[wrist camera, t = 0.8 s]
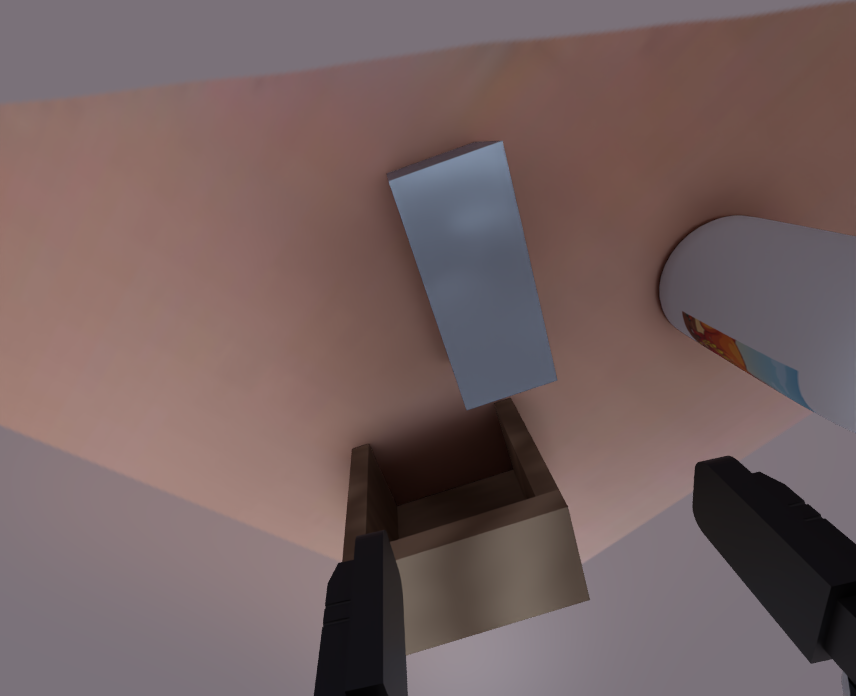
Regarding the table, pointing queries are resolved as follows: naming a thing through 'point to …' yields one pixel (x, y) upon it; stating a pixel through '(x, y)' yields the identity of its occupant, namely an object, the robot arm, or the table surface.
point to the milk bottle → (772, 306)
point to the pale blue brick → (476, 269)
